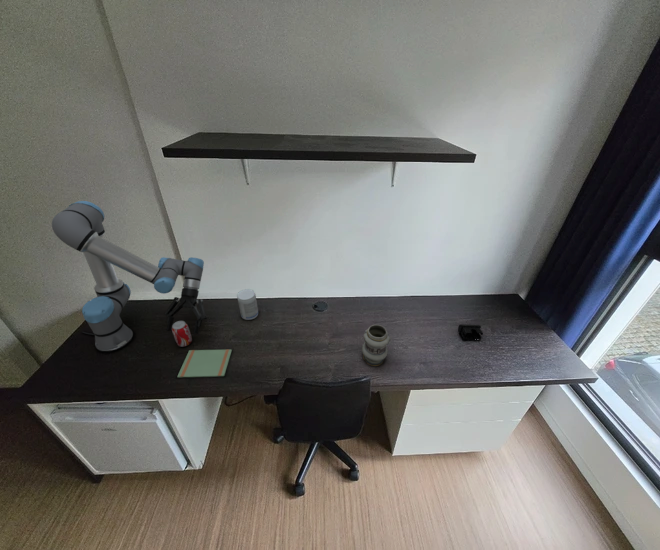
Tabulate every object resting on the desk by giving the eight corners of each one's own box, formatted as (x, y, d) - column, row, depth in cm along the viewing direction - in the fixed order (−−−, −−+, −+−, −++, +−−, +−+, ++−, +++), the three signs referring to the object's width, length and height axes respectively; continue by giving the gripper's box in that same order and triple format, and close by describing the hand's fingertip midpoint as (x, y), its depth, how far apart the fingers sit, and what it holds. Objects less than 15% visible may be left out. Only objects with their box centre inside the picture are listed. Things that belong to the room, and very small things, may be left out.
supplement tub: (261, 311, 164) (258, 290, 156) (253, 322, 156) (250, 301, 148) (246, 308, 166) (242, 287, 158) (237, 318, 158) (233, 297, 150)
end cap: (474, 331, 156) (478, 322, 152) (480, 341, 150) (484, 331, 146) (456, 331, 155) (459, 321, 152) (461, 341, 150) (465, 331, 146)
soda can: (189, 348, 140) (183, 330, 133) (174, 347, 140) (167, 329, 133) (195, 337, 146) (189, 319, 139) (181, 337, 146) (174, 319, 139)
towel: (177, 377, 126) (177, 376, 126) (189, 351, 139) (189, 350, 138) (224, 376, 127) (223, 375, 127) (232, 350, 140) (231, 349, 140)
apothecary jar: (355, 355, 140) (358, 328, 130) (373, 344, 146) (378, 317, 136) (372, 372, 132) (377, 344, 122) (391, 360, 138) (397, 333, 128)
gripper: (218, 292, 146) (210, 334, 142) (171, 287, 148) (162, 329, 144) (211, 289, 139) (203, 334, 135) (162, 285, 141) (152, 329, 137)
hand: (182, 332), depth 140 cm, fingers open, 13 cm apart
